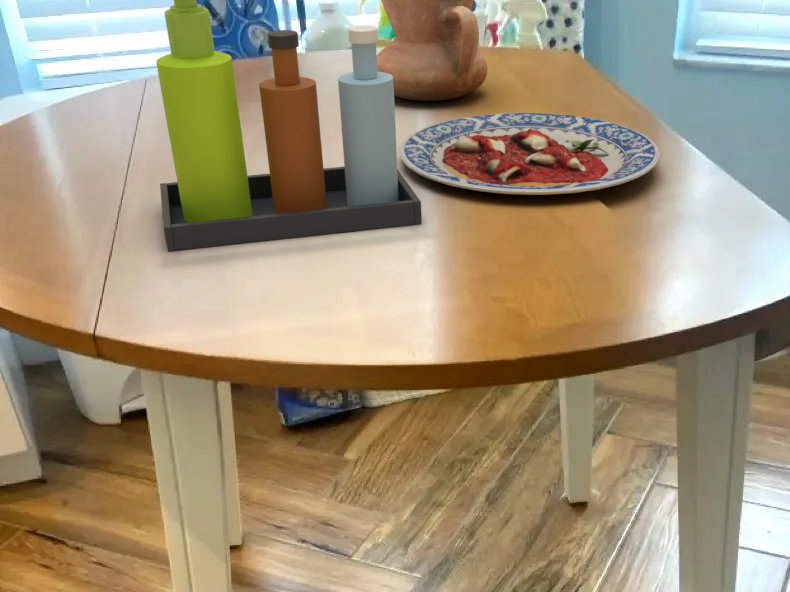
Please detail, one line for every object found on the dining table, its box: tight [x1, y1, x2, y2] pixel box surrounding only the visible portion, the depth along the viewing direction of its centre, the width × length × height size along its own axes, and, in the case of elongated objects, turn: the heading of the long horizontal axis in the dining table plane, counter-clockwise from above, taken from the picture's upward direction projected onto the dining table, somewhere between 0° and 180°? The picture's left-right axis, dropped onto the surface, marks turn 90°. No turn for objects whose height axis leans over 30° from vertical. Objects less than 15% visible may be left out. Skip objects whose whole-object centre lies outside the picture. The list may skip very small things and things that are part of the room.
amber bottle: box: [258, 29, 327, 214], centre depth 80 cm, size 5×5×15 cm
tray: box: [159, 166, 422, 253], centre depth 84 cm, size 21×11×3 cm, turn 106°
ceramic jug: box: [376, 0, 488, 102], centre depth 117 cm, size 18×14×14 cm
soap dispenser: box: [155, 0, 253, 223], centre depth 78 cm, size 6×7×20 cm
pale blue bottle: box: [337, 24, 399, 206], centre depth 82 cm, size 5×5×15 cm
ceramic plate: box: [398, 112, 661, 196], centre depth 96 cm, size 26×26×3 cm
